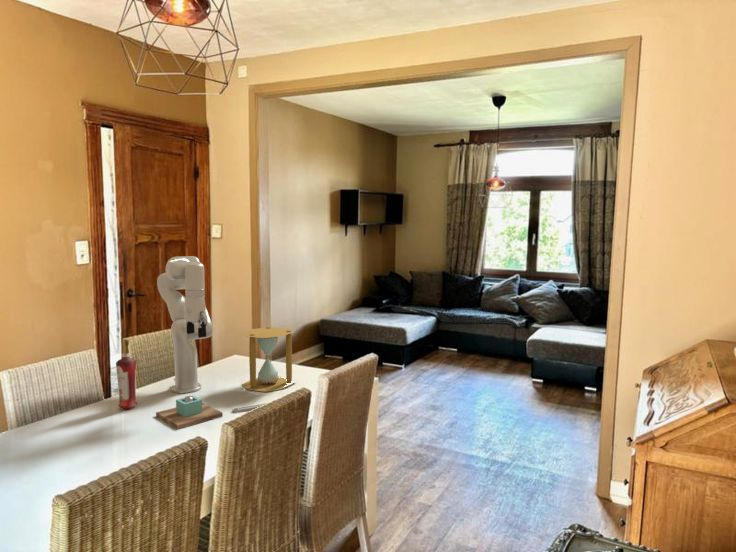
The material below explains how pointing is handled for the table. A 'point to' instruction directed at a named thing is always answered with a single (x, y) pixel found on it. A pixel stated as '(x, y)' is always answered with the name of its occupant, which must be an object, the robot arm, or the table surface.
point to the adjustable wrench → (246, 408)
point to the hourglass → (268, 359)
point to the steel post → (188, 399)
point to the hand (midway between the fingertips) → (196, 335)
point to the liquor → (126, 378)
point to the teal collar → (188, 406)
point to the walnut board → (181, 421)
